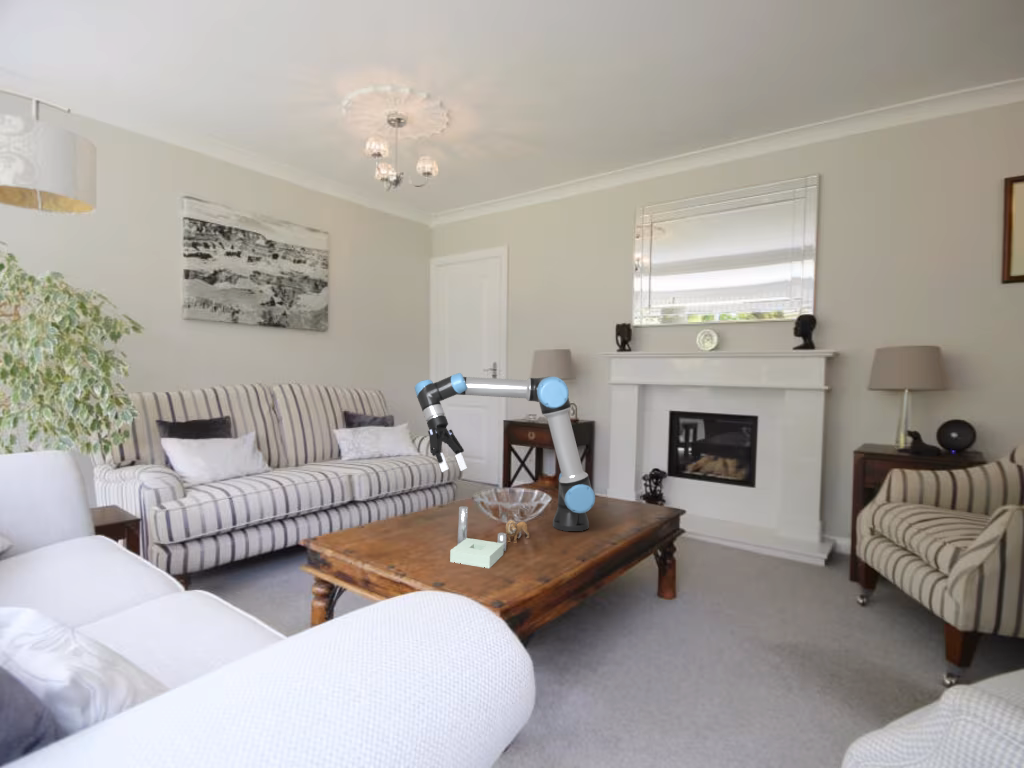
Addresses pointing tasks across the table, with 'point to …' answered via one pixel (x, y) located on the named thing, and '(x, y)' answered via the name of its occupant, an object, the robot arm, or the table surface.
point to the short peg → (502, 539)
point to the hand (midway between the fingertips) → (455, 470)
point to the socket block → (476, 552)
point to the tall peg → (462, 523)
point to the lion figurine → (516, 530)
